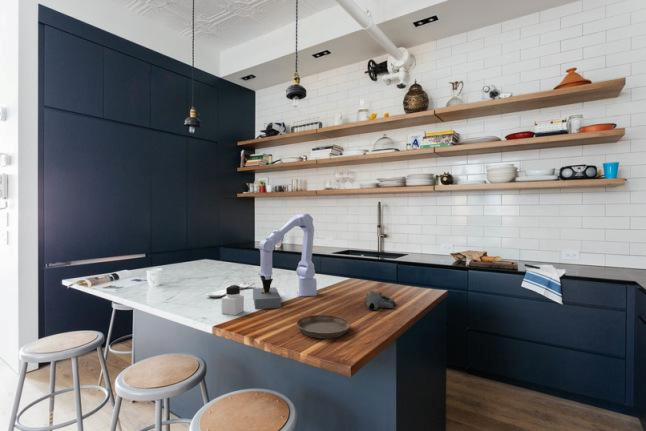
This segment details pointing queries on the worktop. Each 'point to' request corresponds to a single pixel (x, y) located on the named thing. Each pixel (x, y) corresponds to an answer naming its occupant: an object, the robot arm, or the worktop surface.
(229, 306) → the medicine bottle
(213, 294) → the spoon
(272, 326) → the worktop surface
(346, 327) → the plant saucer
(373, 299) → the grey tapered shape
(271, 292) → the hole block
